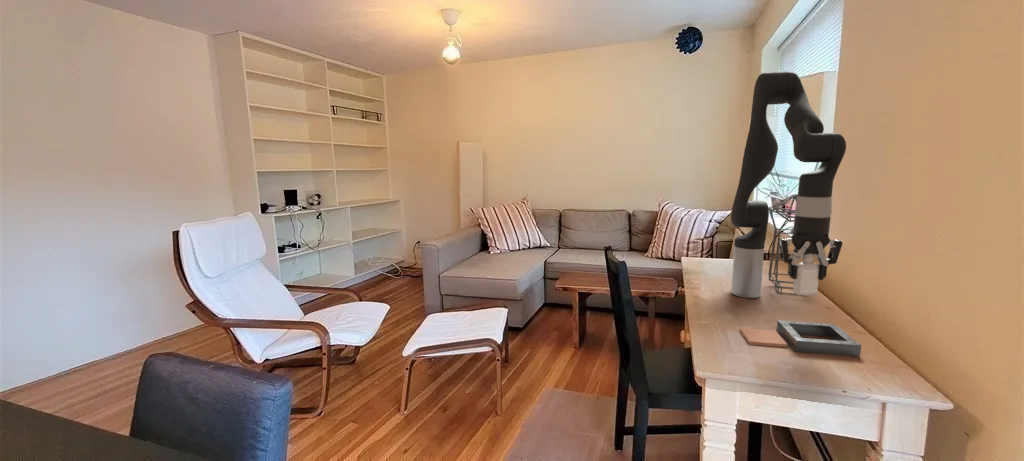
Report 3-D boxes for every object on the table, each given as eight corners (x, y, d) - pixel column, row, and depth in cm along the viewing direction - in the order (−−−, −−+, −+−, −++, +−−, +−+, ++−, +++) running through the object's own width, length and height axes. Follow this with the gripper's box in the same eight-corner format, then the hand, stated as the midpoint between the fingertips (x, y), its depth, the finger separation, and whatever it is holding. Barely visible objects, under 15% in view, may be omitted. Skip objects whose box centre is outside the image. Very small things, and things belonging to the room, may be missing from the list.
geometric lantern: (765, 294, 155) (771, 195, 150) (763, 283, 169) (769, 192, 164) (819, 299, 148) (827, 195, 143) (812, 288, 161) (820, 193, 157)
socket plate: (776, 330, 124) (777, 320, 123) (833, 334, 120) (834, 323, 120) (795, 351, 110) (796, 340, 110) (859, 356, 107) (861, 345, 106)
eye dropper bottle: (820, 297, 111) (825, 251, 109) (794, 295, 113) (798, 249, 111) (815, 292, 115) (820, 247, 113) (790, 290, 117) (794, 246, 115)
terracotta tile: (740, 331, 124) (740, 328, 124) (775, 333, 122) (775, 330, 121) (748, 344, 115) (749, 341, 115) (787, 347, 113) (787, 344, 113)
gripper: (837, 212, 113) (830, 275, 115) (775, 211, 116) (770, 273, 119) (853, 216, 105) (845, 284, 108) (786, 216, 108) (780, 281, 111)
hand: (806, 278), depth 113 cm, fingers closed on eye dropper bottle, 5 cm apart
